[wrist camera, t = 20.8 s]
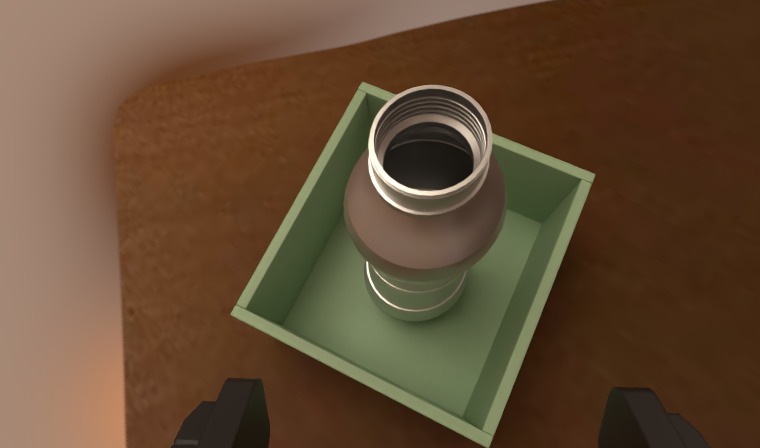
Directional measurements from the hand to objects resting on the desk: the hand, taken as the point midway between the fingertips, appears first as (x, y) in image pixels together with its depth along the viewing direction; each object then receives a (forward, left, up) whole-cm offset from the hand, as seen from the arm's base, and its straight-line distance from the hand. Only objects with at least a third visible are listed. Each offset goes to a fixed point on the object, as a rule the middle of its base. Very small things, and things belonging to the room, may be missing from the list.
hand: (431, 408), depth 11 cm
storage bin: (-7, -3, -21) cm, 22 cm away
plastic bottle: (-7, -3, -21) cm, 22 cm away
